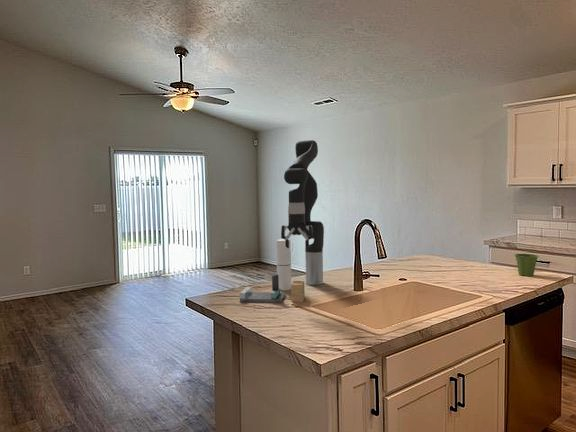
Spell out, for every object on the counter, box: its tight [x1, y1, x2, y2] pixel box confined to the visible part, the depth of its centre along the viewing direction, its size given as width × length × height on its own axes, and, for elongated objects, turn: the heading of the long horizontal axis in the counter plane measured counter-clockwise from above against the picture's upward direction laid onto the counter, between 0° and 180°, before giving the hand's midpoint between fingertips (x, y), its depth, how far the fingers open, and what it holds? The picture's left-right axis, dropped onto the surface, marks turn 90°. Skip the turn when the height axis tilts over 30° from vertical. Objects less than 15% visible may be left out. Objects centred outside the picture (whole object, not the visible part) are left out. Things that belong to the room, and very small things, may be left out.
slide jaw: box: [270, 273, 281, 298], centre depth 200 cm, size 11×3×10 cm, turn 170°
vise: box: [239, 286, 286, 304], centre depth 202 cm, size 12×19×4 cm, turn 80°
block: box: [290, 280, 306, 303], centre depth 199 cm, size 8×5×8 cm, turn 170°
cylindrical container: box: [275, 238, 292, 291], centre depth 219 cm, size 7×7×25 cm
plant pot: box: [514, 253, 540, 277], centre depth 240 cm, size 12×12×11 cm
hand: (297, 248), depth 197 cm, fingers open, 8 cm apart
